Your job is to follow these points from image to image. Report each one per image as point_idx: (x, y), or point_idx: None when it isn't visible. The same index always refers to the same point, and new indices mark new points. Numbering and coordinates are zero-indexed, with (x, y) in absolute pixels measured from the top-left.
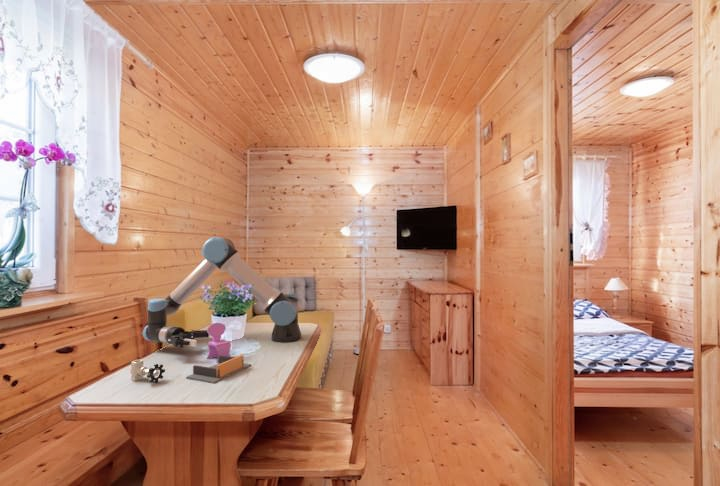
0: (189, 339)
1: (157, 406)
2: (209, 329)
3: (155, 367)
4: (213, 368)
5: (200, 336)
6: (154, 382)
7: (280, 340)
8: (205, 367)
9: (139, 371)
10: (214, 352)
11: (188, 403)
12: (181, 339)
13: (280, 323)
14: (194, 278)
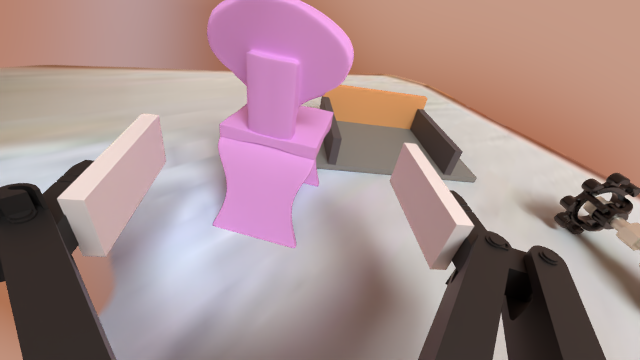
0: (435, 183)
1: (558, 151)
2: (336, 51)
3: (615, 183)
4: (424, 114)
5: (104, 336)
6: (579, 231)
7: None
8: (437, 127)
9: None
10: (257, 207)
11: (502, 127)
12: (497, 236)
13: None
14: None
